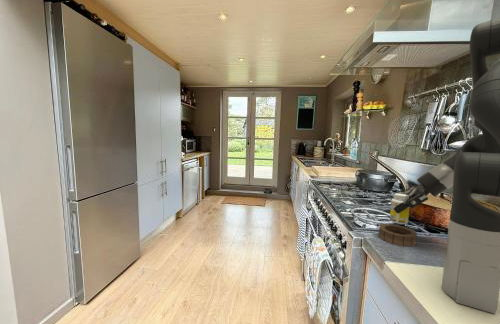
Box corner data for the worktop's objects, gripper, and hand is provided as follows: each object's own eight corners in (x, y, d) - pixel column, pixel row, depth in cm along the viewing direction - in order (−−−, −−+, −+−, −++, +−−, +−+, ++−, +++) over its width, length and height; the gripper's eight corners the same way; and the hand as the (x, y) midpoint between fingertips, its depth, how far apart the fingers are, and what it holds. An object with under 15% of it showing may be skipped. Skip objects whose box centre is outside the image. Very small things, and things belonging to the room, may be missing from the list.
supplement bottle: (410, 222, 81) (412, 195, 80) (405, 226, 77) (407, 197, 76) (392, 218, 85) (394, 192, 84) (387, 221, 81) (389, 194, 80)
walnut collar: (417, 249, 74) (418, 239, 73) (379, 241, 79) (379, 231, 79) (413, 237, 84) (413, 228, 83) (378, 230, 89) (379, 222, 89)
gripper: (423, 169, 82) (383, 196, 89) (436, 174, 69) (388, 205, 76) (439, 184, 81) (398, 211, 87) (456, 192, 68) (406, 223, 74)
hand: (394, 208), depth 81 cm, fingers closed on supplement bottle, 5 cm apart
